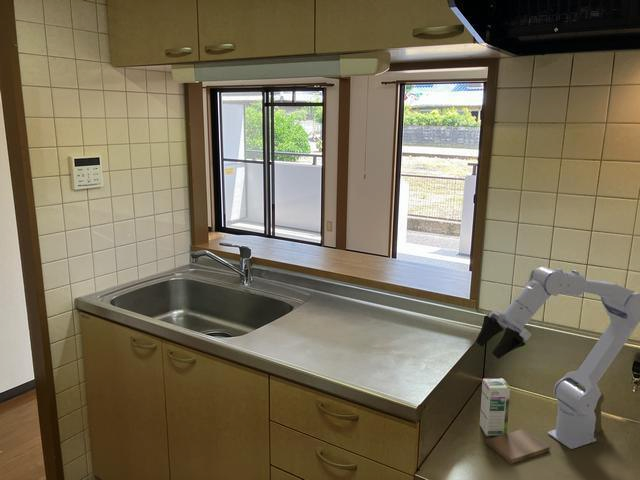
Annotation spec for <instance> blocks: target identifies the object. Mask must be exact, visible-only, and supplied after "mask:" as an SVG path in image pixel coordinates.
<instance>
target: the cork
mask: <svg viewBox="0 0 640 480" xmlns="http://www.w3.org/2000/svg"><path fill="white" fill-rule="evenodd" d="M600 392H601V396H600V398H599V399H598V401H597V405H596V408H595V410H594V413H595V416H596V422H595V430H594V433H600V432H601V431H602V428H603V427H602V403H604V401H605V397H604V393H603V391H601V390H600Z"/></svg>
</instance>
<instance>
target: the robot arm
mask: <svg viewBox="0 0 640 480" xmlns="http://www.w3.org/2000/svg"><path fill="white" fill-rule="evenodd" d="M584 293H585V294H592V295H597V296H598V297H600V302H601V304H602V306H603V307H604V308H603V309H604V310H605V312H606V313H607V315H608V317H609V320H610V323H609V325H608V326H607V328H606V329H604V332H603V333H602V335H600V338H598V340H597V342H596V343H595V345H594V346H593V348H592V349H591V350H590V352H589V353H588V355H587V357H585V359H584V361H583V362H582V363H581V365H580V366H579V368H578V369H577V370H573V371H569V372H566V373H565V375H564V376H563V377H562V378H561V379H559V380H558V381H556V383H555V384H554V387H553V395H554V397H555V398H556V402H557V405H558V407H557V413H556V414H557V415H556V423H555V424H556V425H555V429H551V430H549V431H547V434H548V435H549V436H551V437H552V438H553V439H555V440H557V441H558V442H560V443H561V444H562V445H564V446H566V447H567V448H568V449H570V450H573V449H576V448H579V447H583V446H585V445H588V444H591V443H595V442H597V439H596V437H594V435H595V432H594V430H595V422H596V416H595V413H594V410H595V408H596V405H597V401H598V399H599V398H600V396H601V392H602V391H601V390H600V387H599V384H598V383H599V381H600V379H601V378H602V377H603V375H604V374H605V373H606V371H607V370H608V368H609V367H610V366H611V364H612V363H613V361H614V360H615V358H616V357H617V356H618V354H619V352H620V351H621V350H622V349H623V347H624V346H625V344H626V343H627V341H628V339H629V338H630V336H631V335H632V334H633V332H634V331H635V330H636V328H637V327H638V325H639V324H640V292H637V291H634V290H633V289H632V290H631V289H629V288H626V287H624V286H621V285H619V284H617V283H613V282H611V281H608V280H598V279H597V280H596V279H588V278H587V279H586V277H585V276H584V275H583V274H581V273H580V271H579V270H575V269H572V270H570V271H565V270H563V269H562V268H558V267H557V268H555V269H551V268H549V267H546V266H540V267H537V268H536V269H532V270H531V271H530V274H529V277H528V281H527V282H526V283H525V286H524V288H523V289H522V290H521V291H520V292H519V293H518V295H516V296H515V298H514V299H513V300H512V302H511V303H510V304H508V306H507V307H506V308H505V310H503V312H502V311H500V310H499V311H498V312H497V311H495V310H494V309H492V310H491V311H490V313H488V315H487V314H485V315H484V317H483V321H482V327H481V329H480V332H479V333H478V336H477V337H476V340H475V342H476V343H477V345H478V346H480V347H483V346H484V345H486V344H487V343H488V342H489V341H490V340H491V339H493V338H494V336H496V335H498V334H499V333H502V332H504V333H503V335H502V338H501V339H500V341H499V343H498V344H496V346H495V347H494V349H493V350H492V352H491V354H492V355H493V356H494V357H495V358H497V359H498V360H500V359H501V358H502V357H504V356H506V355H507V354H508V353H510V352H513V351H514V350H515V349H519V348H522V347H525V345H526V343H525V341H528V340H529V339H530V337H531V336H533V335H532V332H530V331H529V330H527V329H526V328H525V326H526V324H527V323H529V321H531V319H532V318H533V316H534V315H535V314H536V313H537V312H538V311H539V310H540V308H541V307H542V306H543V305H544V304H545V303H546V302H547V300H548V299H549V298H551V296H553V297H554V296H558V295H567V296H574V297H579V296H581V295H583V294H584ZM503 327H504V328H505V329H504V328H503ZM524 340H525V341H524ZM581 386H582V387H581ZM583 387H584V388H583ZM600 391H601V392H600Z"/></svg>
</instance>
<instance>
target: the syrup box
mask: <svg viewBox="0 0 640 480" xmlns="http://www.w3.org/2000/svg"><path fill="white" fill-rule="evenodd" d="M481 385H482V386H481V399H480V401H481V402H480V417H479V426H480V428H481V429H482V432H483V433H484V435H485V436H486V437H489V436H490V437H493V436H494V437H498V436H501V435H504V434H508V422H509V421H508V419H509V409H510V398H511V387H510V385H509V384H508V382H507V381H506V380H505V379H504V378H503V377H501V378H482V383H481Z"/></svg>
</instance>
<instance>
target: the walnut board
mask: <svg viewBox="0 0 640 480" xmlns="http://www.w3.org/2000/svg"><path fill="white" fill-rule="evenodd" d="M485 444H486V445H487V446H488V447H489V448H491V449H492V450H493V451H494V452H495V453H497V454H498V455H499V456H501V457H502V458H503V459H504V460H505V461H506V462H508V463H509V464H511V465H512V464H514V463H517V462H521V461H524V460H527V459H529V458H533V457H535V456H538V455H539V456H540V455H541V454H544V453H548V452H550V450H551V449H550V448H551V447H550V446H549V445H548V444H546V443H545V442H543V441H542V440H540V439H539V438H538V437H536V436H535V435H534V434H532V433H531V432H530V431H528V430H527V429H525V428H520V429H518V430H515V431H512V432H507V434H504V435H501V436H494V437H491V438H488V439H486V442H485Z"/></svg>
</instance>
